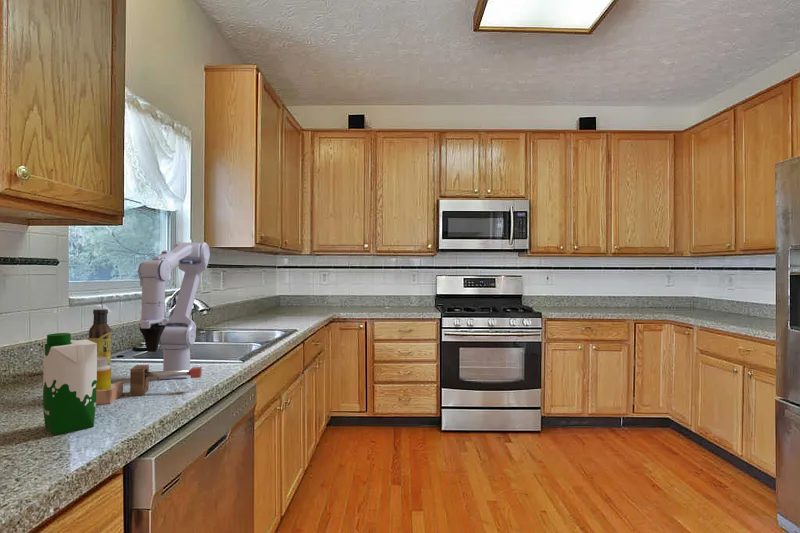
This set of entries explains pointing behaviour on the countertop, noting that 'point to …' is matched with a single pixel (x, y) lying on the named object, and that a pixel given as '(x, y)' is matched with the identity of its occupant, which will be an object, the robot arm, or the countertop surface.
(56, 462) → the countertop surface
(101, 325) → the sauce bottle
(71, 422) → the milk carton
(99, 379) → the supplement bottle
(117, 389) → the dock
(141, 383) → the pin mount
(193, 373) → the lock pin
